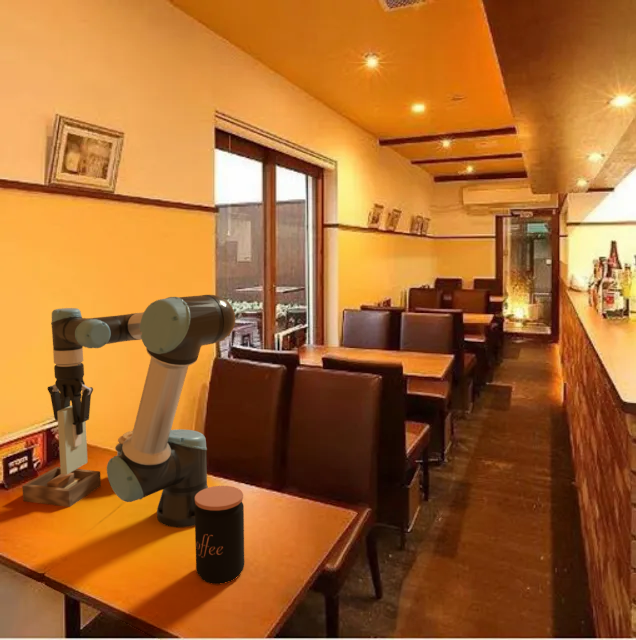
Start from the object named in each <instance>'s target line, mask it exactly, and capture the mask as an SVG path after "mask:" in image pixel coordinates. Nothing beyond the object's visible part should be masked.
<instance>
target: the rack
mask: <svg viewBox="0 0 636 640" xmlns="http://www.w3.org/2000/svg"><path fill="white" fill-rule="evenodd" d="M71 473H74V478H78V479H80V482H78V483H77V484H75V485H74V486H72V487H70V488H69V489H64V488H56V487H47V483H48V482H49V481H51V480H52V479H54V478H55V477H57V476H58V475H60V474H61V468H60V466H55V467H54V468H52V469H49V470H48V471H45V473H43V474H41V475H39V476H38V477H36V478H34V479H32V480H30V481H28V482H27V483H24V484H23V485H21V486H22V501H23V502H28V503H34V504H43V505H52V506H59V507H67V508H71V507H72V506H73V505H75V504H76V503H78V502H80V501H81V500H83V499H84V498H85V497H87V496H88V495H89V494H91V493H93V492H94V491H96V490H97V489H98V488H100V487H101V486H102V482H101V481H102V480H101V471H98V470H90V469H80V468H77V469H76V470H74V471H72V472H71Z"/></svg>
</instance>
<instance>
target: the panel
mask: <svg viewBox="0 0 636 640" xmlns="http://www.w3.org/2000/svg"><path fill="white" fill-rule="evenodd" d="M57 415H58V420H57V429H58V430H57V431H58V447H59V449H58V450H59V464H60V466H59V467H60V468H61V474H69V473H71V472H72V471H74V470H76V469H80V468H81V467H82V466H84V465H87V463H88V445H87V444H88V443H87V442H88V441H87V426H86V421H85V422H83V433H82V434H81V441H82V444H80V445H78V446H76V447H73V434H72V424H73V423H74V416H73V409H72V404H70V406H69V407H66V408H64V409H62V410H59V411H57Z"/></svg>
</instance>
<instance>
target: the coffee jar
mask: <svg viewBox="0 0 636 640" xmlns="http://www.w3.org/2000/svg"><path fill="white" fill-rule="evenodd" d="M243 499H244V492H243V491H242V490H241V489H239V487H238V488H237V487H235V486H229V485H215V486H208V488H206V489H203V490H201V491H199V492H198V493H197V494H196V496H195V504H196V506H195V525H194V529H195V531H194V534H195V539H194V540H195V569H196V570H195V571H196V574H197V575H198V576H199V577H200V579H201V581H204V582H205V583H208V584H211V583H212V584H213V585H221V584H220V583H223V584H226V583H225V582H227V583H229V582H228V581H230V582H232V581H231V580H233V579H234V580H236V579H237V578H238V577H240V575H241V574H240V573H242V572H243V571H244V568H245V525H244V524H245V517H244V516H245V514H244V512H245V508H244V503H243ZM239 574H240V575H239ZM237 576H238V577H237ZM236 577H237V578H236ZM235 578H236V579H235ZM234 580H233V581H234Z"/></svg>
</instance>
